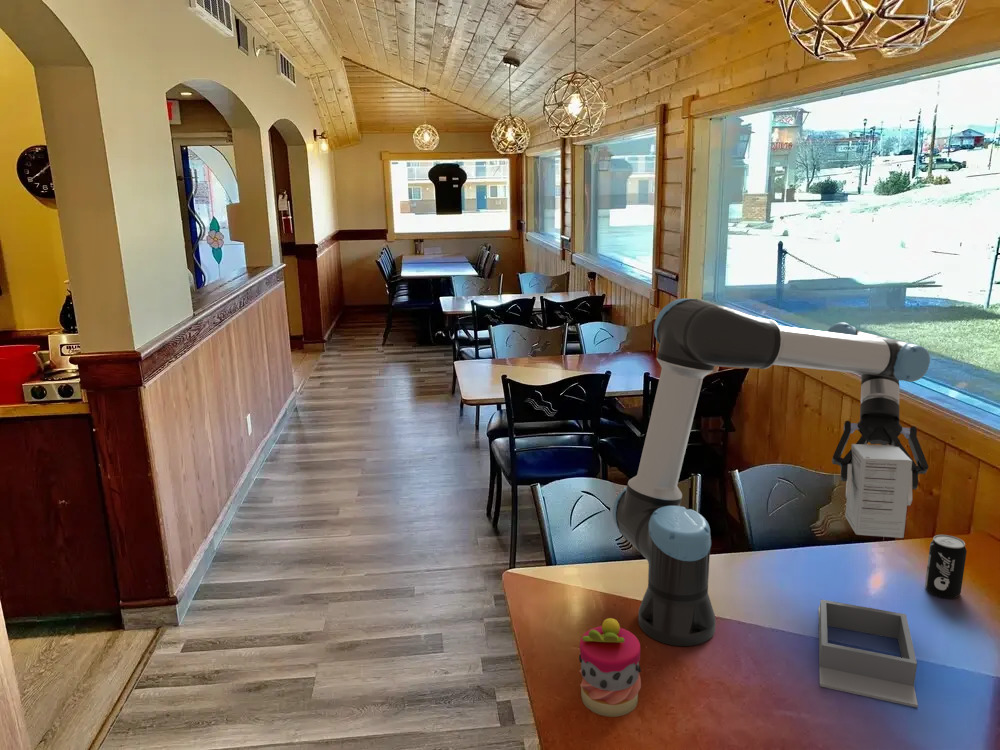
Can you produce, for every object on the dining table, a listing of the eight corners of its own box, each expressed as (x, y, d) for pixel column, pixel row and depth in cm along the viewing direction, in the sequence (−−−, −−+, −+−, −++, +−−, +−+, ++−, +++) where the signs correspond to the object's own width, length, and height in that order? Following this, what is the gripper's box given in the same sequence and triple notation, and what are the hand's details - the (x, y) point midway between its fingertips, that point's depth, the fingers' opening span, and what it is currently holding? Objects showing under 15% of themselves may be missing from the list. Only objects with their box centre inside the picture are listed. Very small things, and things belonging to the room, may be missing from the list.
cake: (578, 675, 129) (578, 602, 125) (637, 678, 128) (639, 604, 124) (579, 716, 119) (579, 638, 115) (642, 719, 118) (644, 640, 114)
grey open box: (819, 686, 125) (822, 661, 123) (818, 608, 148) (820, 586, 146) (917, 707, 119) (921, 681, 118) (900, 623, 142) (902, 600, 141)
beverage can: (967, 599, 149) (974, 547, 146) (935, 600, 149) (942, 548, 146) (948, 583, 156) (955, 533, 153) (918, 583, 156) (924, 533, 153)
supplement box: (904, 539, 143) (914, 461, 139) (855, 535, 145) (863, 458, 141) (890, 518, 152) (898, 444, 148) (843, 515, 154) (850, 442, 150)
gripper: (937, 417, 153) (939, 513, 143) (821, 408, 162) (816, 498, 152) (944, 400, 147) (947, 499, 137) (823, 391, 156) (818, 484, 146)
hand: (878, 499), depth 144 cm, fingers closed on supplement box, 10 cm apart
